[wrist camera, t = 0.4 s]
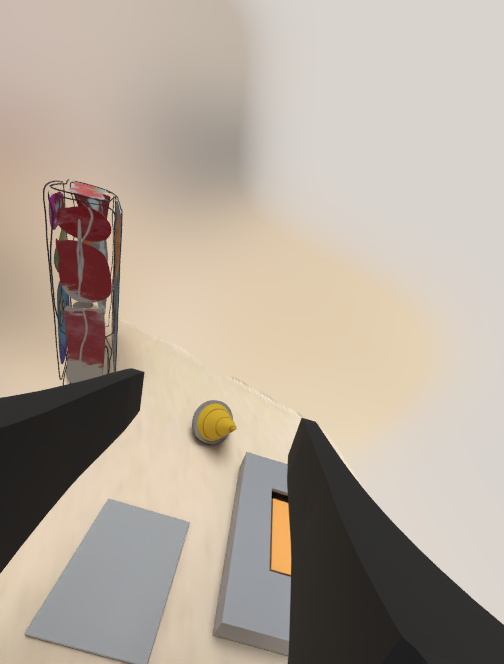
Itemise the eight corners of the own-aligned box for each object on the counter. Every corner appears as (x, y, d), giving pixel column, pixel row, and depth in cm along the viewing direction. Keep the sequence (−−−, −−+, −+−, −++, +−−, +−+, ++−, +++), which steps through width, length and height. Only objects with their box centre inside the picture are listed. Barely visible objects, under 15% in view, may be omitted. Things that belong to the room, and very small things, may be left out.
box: (118, 444, 27) (130, 221, 16) (48, 460, 24) (6, 191, 13) (112, 332, 45) (116, 191, 34) (72, 332, 42) (62, 176, 31)
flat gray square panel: (145, 667, 15) (146, 666, 15) (25, 635, 15) (24, 633, 15) (189, 524, 22) (189, 522, 22) (108, 501, 22) (108, 498, 22)
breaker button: (329, 590, 20) (333, 587, 20) (268, 573, 20) (271, 569, 20) (319, 517, 25) (322, 513, 25) (270, 502, 25) (273, 498, 25)
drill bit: (228, 419, 35) (264, 427, 27) (201, 447, 32) (233, 467, 24) (207, 391, 35) (238, 392, 26) (178, 418, 32) (202, 428, 23)
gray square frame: (378, 680, 17) (401, 672, 16) (212, 635, 17) (222, 622, 16) (338, 496, 29) (349, 483, 28) (239, 467, 29) (246, 452, 27)
